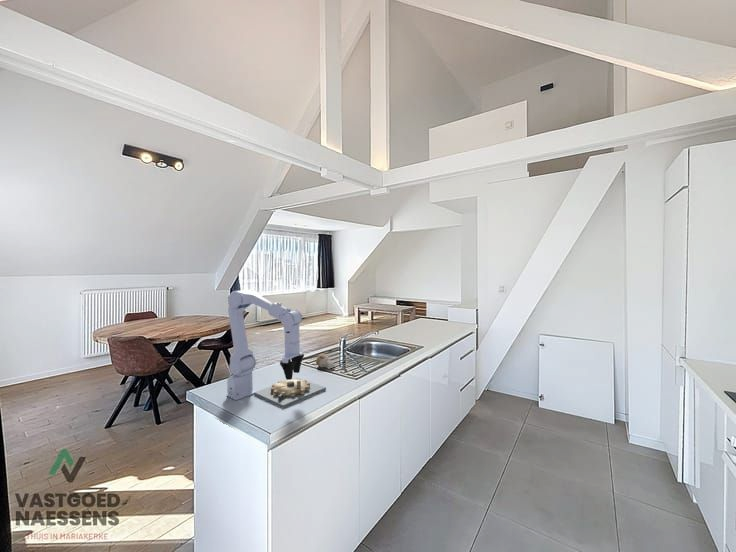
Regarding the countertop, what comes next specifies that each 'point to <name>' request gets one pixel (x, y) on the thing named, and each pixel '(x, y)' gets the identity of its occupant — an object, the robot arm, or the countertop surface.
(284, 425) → the countertop surface
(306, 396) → the base board
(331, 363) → the beige rounded lump
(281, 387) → the sprocket
